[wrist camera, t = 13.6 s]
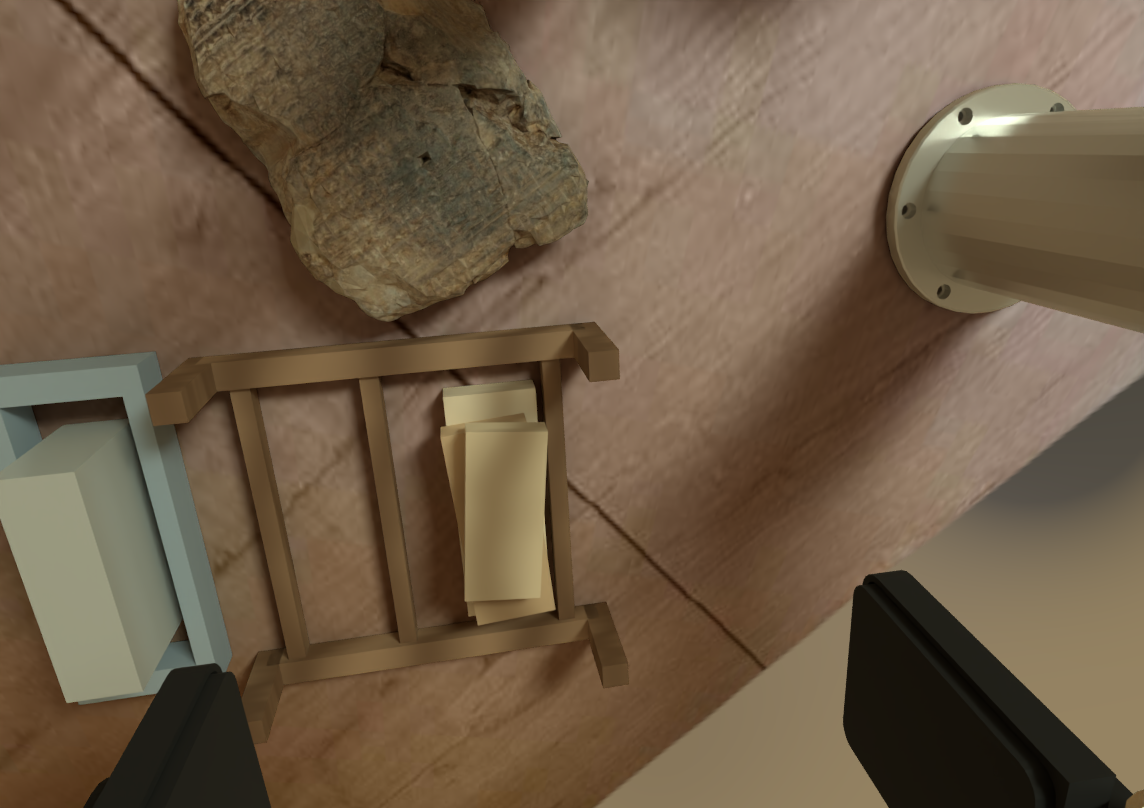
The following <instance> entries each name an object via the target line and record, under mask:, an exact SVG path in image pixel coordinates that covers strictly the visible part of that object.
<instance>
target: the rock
mask: <svg viewBox="0 0 1144 808" xmlns="http://www.w3.org/2000/svg"><path fill="white" fill-rule="evenodd" d="M177 2H178V11H179V19H178V24H179V26H180V28H181V30H182V32H183V34H184V36H185V40H186V41H187V43H188V46H189V49H190V52H191V59H192V62H193V69H194V75H195V79H196V81H197V84H198V86H199V89H200V91H201V93H202V95H203V96H204V98H208V99H209V101H210V103H211V104H212V106H213V108H214V109H215V111H216V112H217V114H218V115H219V117H220V118H221V120H222V121H223V122H224V123H225V124H226V125H228V126H230V127H231V128H232V129H233V130H234V131H235V132H236V133H237V134H238V135H239V136H240V137H241V139H242V141H243V143H244V144H245V145H247V146H248V148H249V149H250V150H251V152H252V153H253V154H254V156H255V157H256V158H257V159H259V160H260V161H261V162H262V163H263V164H264V165H265V166H266V168H267V170H268V177H269V181H270V184H271V187H272V188H273V189H274V191H275V192H276V193H277V195H278V197H279V200H280V203H281V205H282V209H283V212H284V215H285V217H286V219H287V220H288V222H289V224H290V225H291V237H290V242H291V244H292V246H293V247H294V249H295V251H296V253H297V255H298V257H299V258H300V260H301V261H302V263H303V264H304V265H305V266H306V268H307V269H308V270H309V271H310V273H311V274H312V275H313V276H314V278H315V279H316V280H319V281H321V282H323V283H324V284H325V285H327V286H328V287H330V288H331V289H332V290H333V291H334V292H336V293H338V294H340V295H343V296H345V297H347V298H350V299H352V300H354V301H355V302H356V303H357V305H358V306H359V308H360V309H362V310H363V311H364V312H365V313H366V314H367V315H368V316H370V317H373V318H375V319H377V320H380V321H386V322H390V321H393V320H396V319H398V318H400V317H401V316H403V315H405V314H410V313H413V312H416V311H418V310H421V309H424V308H426V307H428V306H430V305H432V304H434V303H437V302H439V301H442V300H447V299H451V298H454V297H457V296H461V295H464V292H465V290H466V288H467V287H468V286H470V285H471V284H476V283H477V282H478V281H482V280H485V279H487V278H488V277H489V276H491V275H492V274H494V273H495V272H496V271H498V270H499V269H500V268H501V267H503V266H504V265H505V264H506V263H507V262H508V253H509V249H510V247H512V246H513V245H514V247H515V248H526V247H528V246H531V245H533V244H537V245H539V246H541V245H544V244H548V243H551V242H555V241H557V240H558V239H560V238H561V237H563V236H565V235H566V234H568V233H569V232H571V231H572V230H573V229H575V228H577V227H579V226H581V225H583V224H584V222H585V220H586V218H587V216H588V209H587V187H588V182H589V181H588V180H586V178H585V174H584V171H583V169H582V167H581V166H580V164H579V162H578V160H577V159H576V157H575V156H574V154H573V152H572V151H571V149H570V147H569V146H568V144H564V143H559V142H558V141H556V138H560V137H562V136H561V133H560V131H559V129H558V127H557V126H556V124H555V122H554V120H553V118H552V116H551V114H550V112H549V109H548V107H547V105H546V102H545V100H544V98H543V95H542V93H541V91H540V90H539V89H538V88H537V87H536V86H535V85H534V84H533V83H532V82H531V81H529V80H527V81H526V77H525V76H524V74H523V73H522V71H521V70H520V68H519V67H518V65H517V64H516V62H515V60H514V58H513V57H512V55H511V53H510V51H509V45H508V44H507V43H505V42H504V41H503V40H502V39H501V38H500V36H499V34H498V32H492V30H491V29H490V27H489V24H488V21H487V18H486V15H485V12H484V10H483V7H482V6H481V5H479V4H476V3H475V2H474V1H472V0H177Z"/></svg>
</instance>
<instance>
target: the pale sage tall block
mask: <svg viewBox="0 0 1144 808" xmlns="http://www.w3.org/2000/svg"><path fill="white" fill-rule="evenodd" d="M0 519H1V522H2V525H3V528H4V531H5V533H6V536H7V539H8V542H9V544H10V547H11V550H12V553H13V556H14V558H15V561H16V564H17V567H18V569H19V572H20V575H21V578H22V581H23V583H24V586H25V589H26V592H27V594H28V597H29V600H30V603H31V606H32V608H33V611H34V614H35V617H36V619H37V622H38V625H39V628H40V630H41V633H42V636H43V639H44V642H45V644H46V647H47V650H48V653H49V655H50V658H51V661H52V664H53V667H54V669H55V672H56V675H57V678H58V680H59V683H60V686H61V689H62V692H63V694H64V697H65V700H66V703H71V702H78V701H84V700H91V699H98V698H104V697H111V696H117V695H124V694H131V693H137V692H143V691H144V689H145V687H146V685H147V683H148V682H149V680H150V678H151V676H152V674H153V672H154V671H155V669H156V667H157V665H158V663H159V661H160V660H161V658H162V656H163V654H164V652H165V650H166V649H167V647H168V645H169V643H170V641H171V639H172V638H173V636H174V634H175V632H176V630H177V628H178V627H179V625H180V623H181V621H182V619H183V615H182V611H181V608H180V604H179V600H178V597H177V593H176V589H175V586H174V582H173V579H172V575H171V571H170V568H169V564H168V560H167V557H166V553H165V549H164V546H163V542H162V539H161V535H160V531H159V528H158V524H157V520H156V517H155V513H154V509H153V506H152V502H151V498H150V495H149V491H148V488H147V484H146V480H145V477H144V473H143V469H142V466H141V462H140V458H139V455H138V451H137V447H136V444H135V440H134V437H133V433H132V429H131V426H130V422H129V418H127V419H118V420H108V421H98V422H88V423H78V424H68V425H63V426H61V427H60V428H59V429H57V430H56V431H54V432H53V433H52V434H50V435H49V436H48V437H46V438H45V439H44V440H42V441H41V442H40V443H38V444H37V445H36V446H34V447H33V448H31V449H30V450H29V451H27V452H26V453H25V454H23V455H22V456H21V457H19V458H18V459H17V460H15V461H14V462H13V463H11V464H10V465H9V466H7V467H6V468H4V469H3V470H2V471H0Z"/></svg>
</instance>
